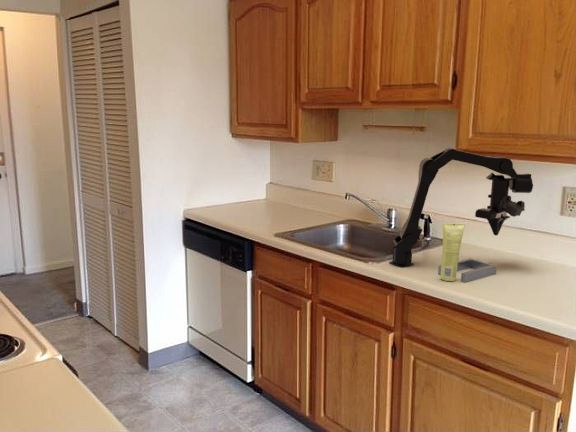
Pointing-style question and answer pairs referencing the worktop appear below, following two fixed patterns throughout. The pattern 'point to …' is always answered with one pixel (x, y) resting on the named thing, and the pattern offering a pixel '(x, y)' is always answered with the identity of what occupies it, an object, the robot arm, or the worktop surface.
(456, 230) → the tube
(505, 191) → the robot arm
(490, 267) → the u collar
